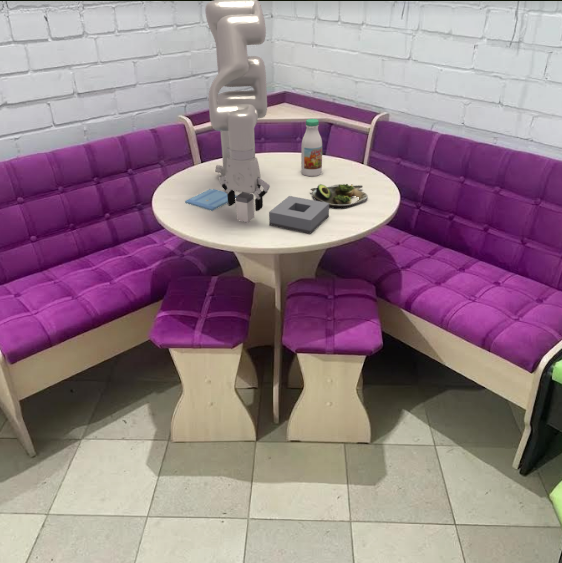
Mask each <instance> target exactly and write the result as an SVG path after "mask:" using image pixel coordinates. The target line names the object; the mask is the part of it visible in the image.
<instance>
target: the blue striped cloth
mask: <svg viewBox="0 0 562 563" xmlns="http://www.w3.org/2000/svg"><path fill="white" fill-rule="evenodd" d="M237 195H238V194H237ZM237 195H236V194H235V198H236V196H237ZM184 202H185V203H184V204H187V203H188V205H190V204H191V206H194V207H197V208H199V209H203V210H207V211H210V210H211V211H210V212H213V211H215V210H216V209H217V210H218V209H219V208H220V206H221V207H222V205H223V206H225V205H226V203H227V204H228V197H227V194H226V192H225V191H223V190H219V189H215V188H213V189H212V188H209V189H207V190H205V191H203V192H201V193H198V194H197V195H195V196H193V197H190V198H189V199H186V200H184ZM224 204H225V205H224ZM218 207H219V208H218Z"/></svg>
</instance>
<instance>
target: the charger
mask: <svg viewBox="0 0 562 563" xmlns="http://www.w3.org/2000/svg"><path fill="white" fill-rule="evenodd" d="M254 196H255V195H254V194H253V193H244V192H239V194H237V196H236V199H235V207H236V220H237V221H239V220H240V221H239V222H243V221H244V222H243V223H250V222H251V221H252V220H253V219H255V199H254ZM250 220H251V221H250Z"/></svg>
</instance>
